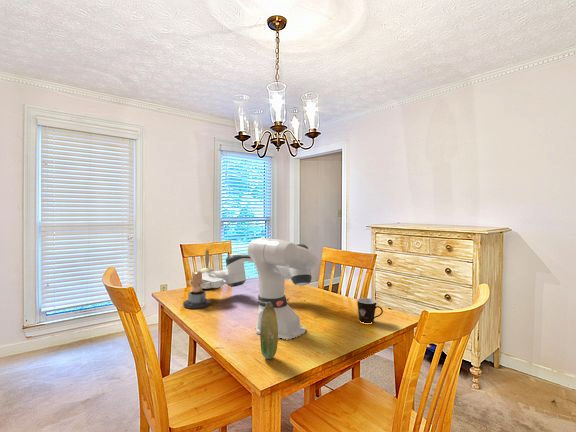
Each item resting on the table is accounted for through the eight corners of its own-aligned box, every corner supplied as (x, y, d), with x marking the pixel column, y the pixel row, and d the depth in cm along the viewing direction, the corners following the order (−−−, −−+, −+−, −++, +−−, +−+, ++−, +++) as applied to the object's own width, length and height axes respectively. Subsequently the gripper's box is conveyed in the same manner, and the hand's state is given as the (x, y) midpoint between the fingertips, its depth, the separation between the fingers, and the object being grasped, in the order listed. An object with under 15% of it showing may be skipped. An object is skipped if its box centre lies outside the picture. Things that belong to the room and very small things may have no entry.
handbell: (220, 289, 199) (221, 250, 198) (195, 291, 193) (196, 251, 192) (217, 283, 213) (217, 247, 212) (193, 285, 207) (193, 248, 207)
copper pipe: (203, 301, 168) (204, 272, 168) (196, 304, 164) (196, 273, 164) (198, 299, 171) (198, 270, 171) (190, 302, 167) (190, 272, 167)
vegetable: (281, 358, 110) (281, 302, 109) (270, 365, 105) (271, 306, 104) (267, 353, 113) (268, 299, 113) (256, 360, 108) (257, 303, 107)
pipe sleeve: (215, 304, 169) (215, 292, 169) (194, 310, 158) (194, 298, 158) (199, 299, 178) (199, 287, 177) (177, 305, 166) (177, 293, 166)
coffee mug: (353, 320, 148) (353, 299, 148) (368, 317, 151) (369, 297, 151) (367, 329, 137) (368, 306, 137) (384, 326, 140) (384, 304, 140)
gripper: (228, 287, 172) (208, 293, 161) (204, 281, 184) (184, 286, 173) (228, 276, 171) (208, 280, 160) (204, 271, 184) (184, 275, 173)
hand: (195, 283), depth 167 cm, fingers open, 8 cm apart
